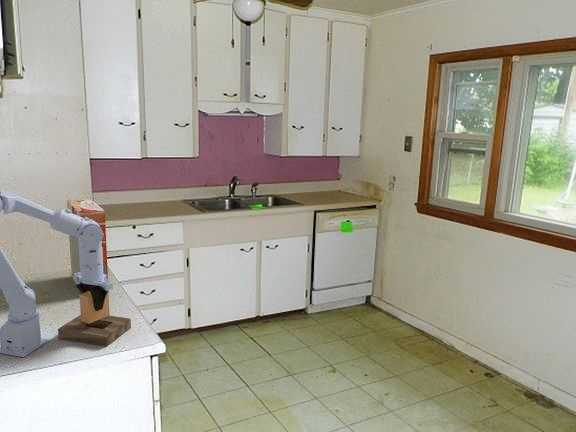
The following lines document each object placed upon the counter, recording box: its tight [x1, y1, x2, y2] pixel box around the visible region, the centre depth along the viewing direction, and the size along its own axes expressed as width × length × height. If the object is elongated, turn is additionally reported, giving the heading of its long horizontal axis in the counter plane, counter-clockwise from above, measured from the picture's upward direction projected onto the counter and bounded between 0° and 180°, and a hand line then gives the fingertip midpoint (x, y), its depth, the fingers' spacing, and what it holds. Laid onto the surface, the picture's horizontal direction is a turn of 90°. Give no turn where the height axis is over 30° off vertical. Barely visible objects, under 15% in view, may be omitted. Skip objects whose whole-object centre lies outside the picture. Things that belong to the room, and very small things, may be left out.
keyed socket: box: [57, 314, 132, 348], centre depth 135 cm, size 12×16×3 cm
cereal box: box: [66, 198, 109, 285], centre depth 168 cm, size 23×8×30 cm, turn 35°
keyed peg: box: [79, 290, 111, 324], centre depth 133 cm, size 4×7×8 cm, turn 149°
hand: (94, 308), depth 133 cm, fingers closed on keyed peg, 3 cm apart
